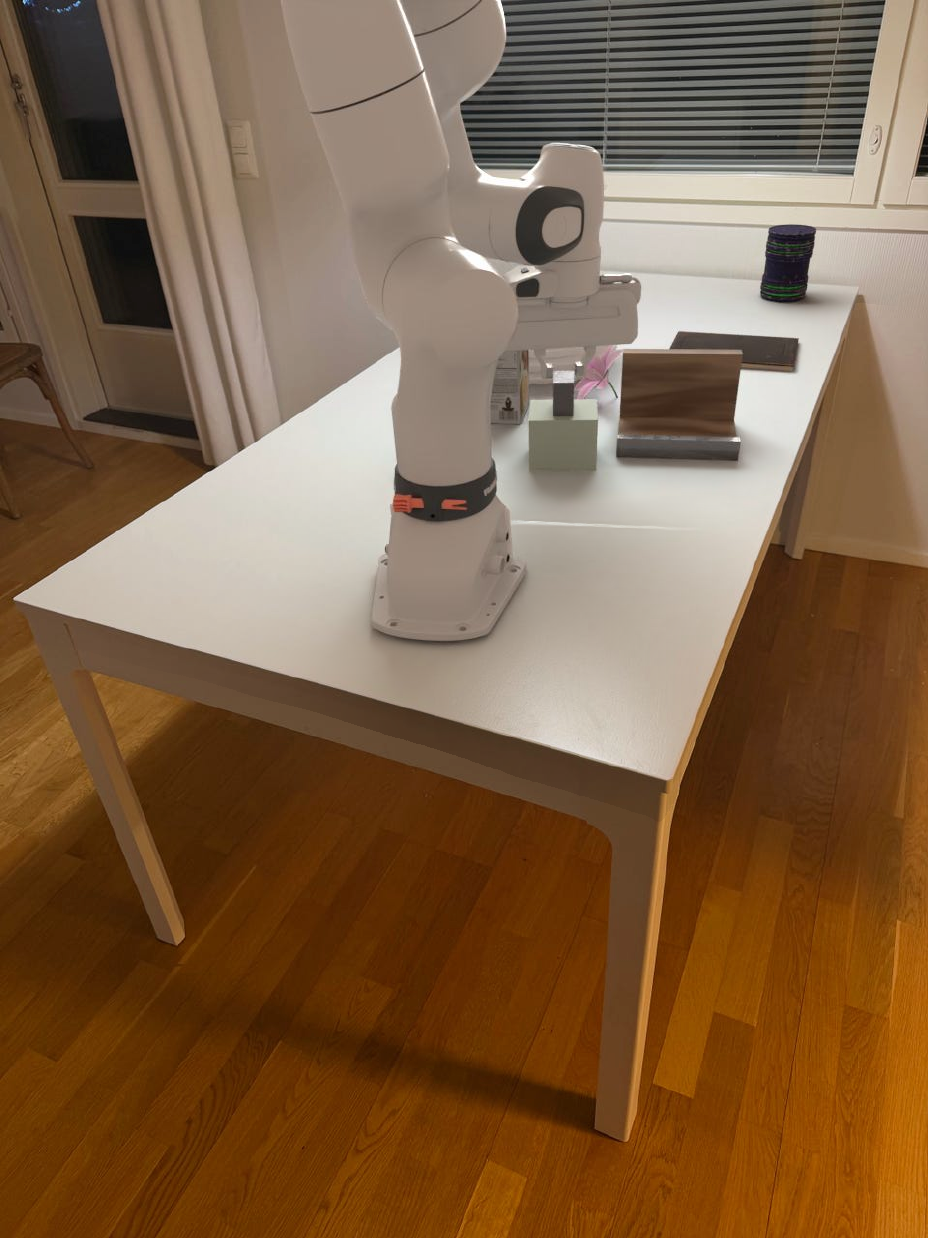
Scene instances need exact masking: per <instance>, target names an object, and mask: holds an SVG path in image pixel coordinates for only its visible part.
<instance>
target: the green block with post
mask: <svg viewBox="0 0 928 1238" xmlns="http://www.w3.org/2000/svg"><path fill="white" fill-rule="evenodd" d="M574 388H575V381H574V371H554V373H553V383H552V399H529V412H528V413H529V414H528V470H529V472H530V471H597V461H598V460H597V459H598V458H597V457H598V434H599V433H598V431H599V428H598V427H599V413H598V411H599V410H598V399H596V398H583V399H577V398H576V399H575V392H574Z"/></svg>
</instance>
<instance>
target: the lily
mask: <svg viewBox="0 0 928 1238" xmlns="http://www.w3.org/2000/svg"><path fill="white" fill-rule="evenodd" d="M612 348H613V345H609V346H608V347H607V349H606V350H605V351H604V353H603V354H602V356H601V357H600V356H598V355H594V357H593V358H592V360H591V361H590V363H589V365H587V376H586V377H584V378H583V379H580V381H579V382H578V383H577V384H576V385H575V386H574V393H575V392H577V391H578V393H577V395H576V399H585V397H586V395H587V394H589V392H590V391H591V390H592V389H593V388H594V389H598V390H606V389H607V386H608V385H609V386H610V388H611V389H612V392H613V394H614V396H615V397H616V398H617V399H618V398H619V397H618V394H617V392H616V390H615V388H614V386H613V385H612V384H611V382H610V381H609V370H610V368H611V367H610V365H611V364H612V363H613V362H614V361H615V362H616V360H617V359H618V358H619V357H620V356H621V354H623V349H616V351H613V352H611V351H612ZM615 362H614V363H615Z"/></svg>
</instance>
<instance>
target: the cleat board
mask: <svg viewBox="0 0 928 1238" xmlns="http://www.w3.org/2000/svg"><path fill="white" fill-rule="evenodd" d="M622 350H623V352H622V363H621V365H622V366H621V381H620V382H621V383H620V399H619V400H620V403H619V416H618V417H619V420H618V429H617V435H616V436H617V437H616V449H615V451H616V453H615V457H616V458H642V459H643V458H644V459H646V458H648V459H650V458H651V459H677V460H678V459H679V460H681V459H683V460H709V461H711V460H712V461H739V456H740V452H741V451H740V449H741V443H742V441H741V437H738V434H737V429H736V423H735V417H736V409H737V408H736V407H737V400H738V391H739V385H740V379H741V377H740V376H741V371H742V370H741V363H742V356H743V353H742V350H702V349H669V348H668V349H667V348H649V349H648V348H623V349H622Z"/></svg>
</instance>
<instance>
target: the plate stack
mask: <svg viewBox="0 0 928 1238" xmlns="http://www.w3.org/2000/svg"><path fill="white" fill-rule="evenodd" d="M608 346H609V345H604V346H596V354H595V355H598V356H600V357H601V356H602V354H603V353H604V351H605V350H606V349H607V347H608ZM617 347H618V345H613V348H612V351H611V352H613V351H616V350H617ZM528 354H529V385H548V384H549V385H551V384H552V385H553V378H552V379H542V377H541V365H540V363H539V361H538V360H537V358H536V356H535V354H534V350H528ZM584 354H585V350H584V349H583V347H570V348H553V349H546V355H545V356H542V358H543V360H544V362H545V363H546V364H552V366H553V373H554V371H574V382H575V381H579V380H580V381H581V379H583V378H584V377H576V376H575V362H581V359H582V358H583V356H584ZM615 362H616V360H615V361H614V362H613V363H612V364H611V365H610V367H609V368H611V367H612V366H613V365H614V364H615ZM553 373H552V374H553Z"/></svg>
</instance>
